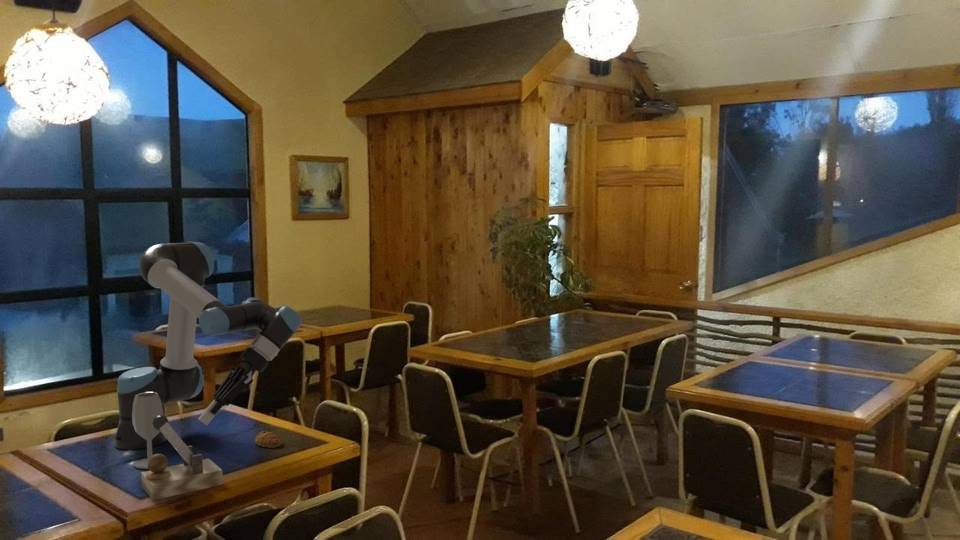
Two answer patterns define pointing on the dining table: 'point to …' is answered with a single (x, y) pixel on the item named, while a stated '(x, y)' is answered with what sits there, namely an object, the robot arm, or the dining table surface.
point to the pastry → (268, 439)
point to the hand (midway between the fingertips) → (202, 422)
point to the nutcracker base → (179, 476)
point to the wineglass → (146, 420)
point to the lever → (172, 437)
